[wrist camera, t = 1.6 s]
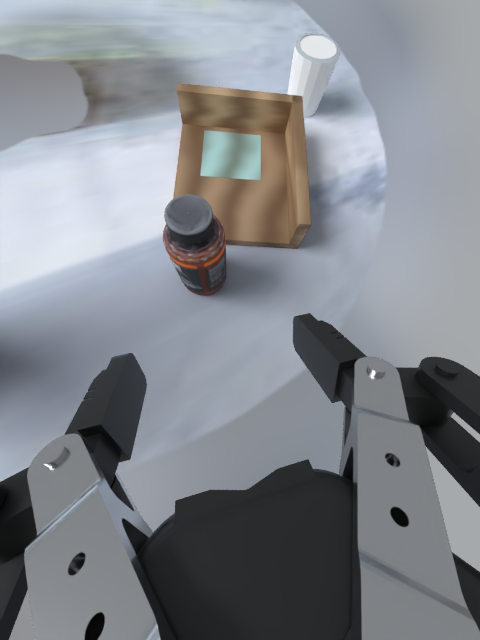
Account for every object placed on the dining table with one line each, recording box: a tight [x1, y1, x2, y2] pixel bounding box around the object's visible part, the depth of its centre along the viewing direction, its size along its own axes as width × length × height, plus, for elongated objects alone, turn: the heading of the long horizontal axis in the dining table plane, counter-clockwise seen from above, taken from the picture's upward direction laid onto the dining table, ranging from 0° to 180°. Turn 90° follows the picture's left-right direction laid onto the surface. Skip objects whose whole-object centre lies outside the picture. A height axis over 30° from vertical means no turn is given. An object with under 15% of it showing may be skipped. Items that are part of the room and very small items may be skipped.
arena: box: [173, 83, 311, 248], centre depth 29 cm, size 18×22×5 cm
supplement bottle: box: [163, 194, 226, 295], centre depth 22 cm, size 6×6×11 cm
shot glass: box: [288, 33, 340, 117], centre depth 33 cm, size 7×7×7 cm
